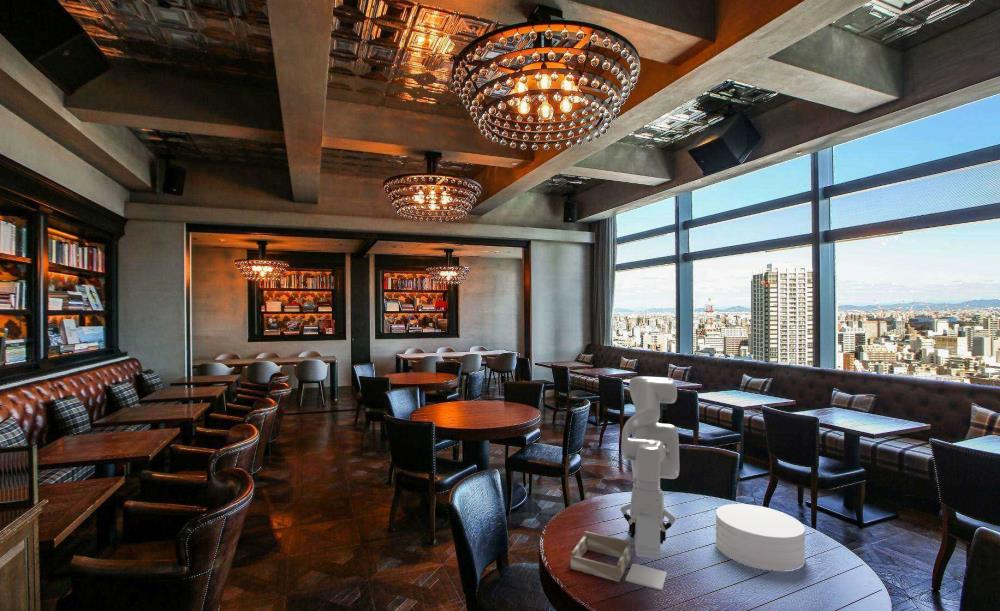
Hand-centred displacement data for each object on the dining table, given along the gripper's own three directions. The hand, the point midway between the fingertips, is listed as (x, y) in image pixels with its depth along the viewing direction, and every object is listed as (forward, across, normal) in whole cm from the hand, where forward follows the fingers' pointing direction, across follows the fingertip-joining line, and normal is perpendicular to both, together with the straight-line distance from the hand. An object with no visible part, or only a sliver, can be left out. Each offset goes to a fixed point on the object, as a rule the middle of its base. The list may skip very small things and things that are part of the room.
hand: (647, 538), depth 153 cm
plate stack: (+12, +32, +38) cm, 51 cm away
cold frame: (+12, -15, +1) cm, 19 cm away
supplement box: (+4, 0, 0) cm, 4 cm away
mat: (+12, 0, 0) cm, 12 cm away
